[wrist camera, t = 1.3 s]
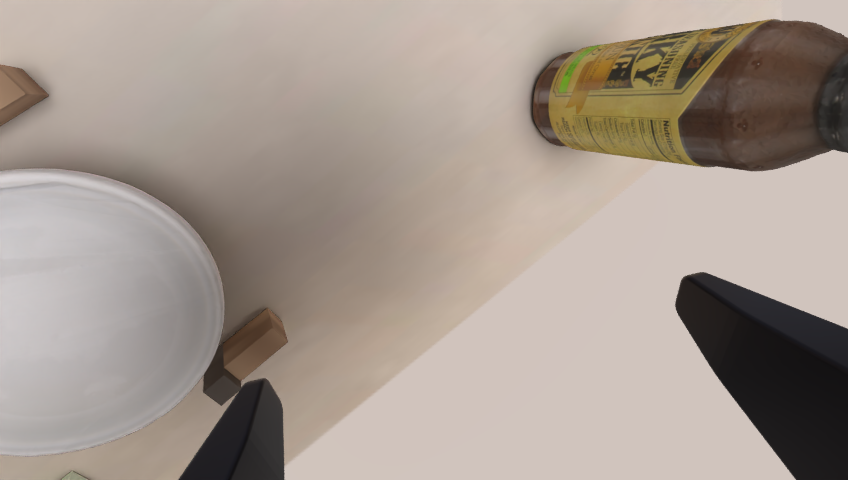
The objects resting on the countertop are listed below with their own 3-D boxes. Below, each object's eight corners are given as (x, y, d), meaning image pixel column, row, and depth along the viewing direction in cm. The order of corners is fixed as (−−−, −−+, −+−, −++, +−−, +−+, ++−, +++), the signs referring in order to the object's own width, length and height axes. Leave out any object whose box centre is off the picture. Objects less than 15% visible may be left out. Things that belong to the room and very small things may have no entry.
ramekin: (98, 105, 19) (61, 104, 14) (269, 280, 24) (282, 322, 19) (-159, 269, 17) (-301, 330, 12) (89, 421, 22) (56, 504, 17)
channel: (96, 472, 22) (79, 523, 20) (-293, 259, 15) (-408, 293, 12) (281, 321, 25) (290, 348, 22) (21, 69, 17) (-16, 61, 14)
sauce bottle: (588, 36, 28) (1164, -74, 11) (604, 125, 31) (1087, 147, 14) (513, 73, 27) (1054, 11, 10) (536, 164, 29) (991, 242, 12)
